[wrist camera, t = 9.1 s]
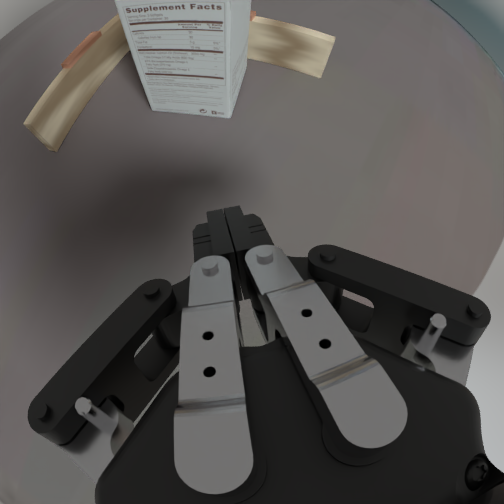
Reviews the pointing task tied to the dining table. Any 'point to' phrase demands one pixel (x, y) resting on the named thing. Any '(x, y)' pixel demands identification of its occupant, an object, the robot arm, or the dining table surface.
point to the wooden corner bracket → (116, 47)
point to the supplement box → (188, 52)
